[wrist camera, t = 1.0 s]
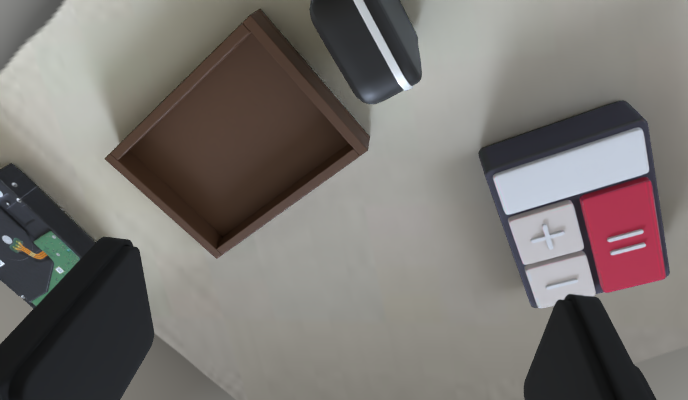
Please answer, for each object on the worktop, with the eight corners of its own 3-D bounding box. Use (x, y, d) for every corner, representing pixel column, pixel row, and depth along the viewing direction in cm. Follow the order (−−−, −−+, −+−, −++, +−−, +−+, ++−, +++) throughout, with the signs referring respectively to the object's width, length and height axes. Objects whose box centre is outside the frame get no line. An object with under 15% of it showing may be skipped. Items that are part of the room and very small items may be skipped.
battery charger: (324, -22, 33) (291, 5, 23) (373, -54, 32) (358, -39, 22) (374, 67, 36) (362, 124, 26) (420, 41, 35) (426, 91, 25)
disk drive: (-46, 207, 48) (68, 308, 53) (-71, 223, 45) (52, 327, 50) (14, 158, 44) (131, 272, 49) (-9, 172, 41) (117, 290, 47)
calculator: (534, 316, 42) (485, 176, 35) (523, 282, 45) (476, 149, 38) (675, 283, 38) (652, 122, 31) (651, 249, 42) (626, 97, 35)
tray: (260, 8, 35) (250, 14, 32) (370, 136, 39) (368, 150, 37) (120, 145, 42) (104, 159, 40) (225, 242, 46) (216, 259, 44)
